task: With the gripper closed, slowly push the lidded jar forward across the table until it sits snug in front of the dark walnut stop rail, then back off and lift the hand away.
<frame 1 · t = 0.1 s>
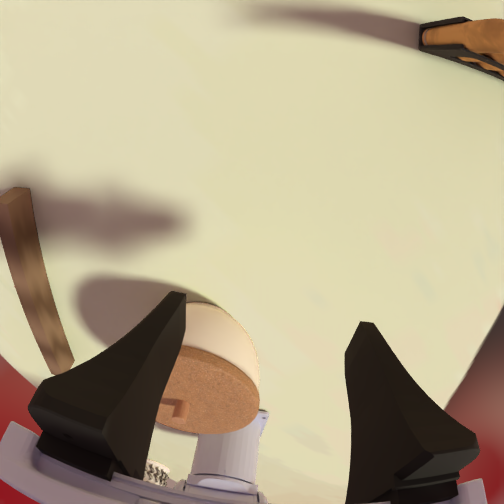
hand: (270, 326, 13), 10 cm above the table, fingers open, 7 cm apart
decorative candle: (149, 464, 51), on the table
lidded jar: (204, 326, 28), on the table
ammunition clip: (485, 60, 14), on the table
walnut stop rail: (44, 289, 28), on the table
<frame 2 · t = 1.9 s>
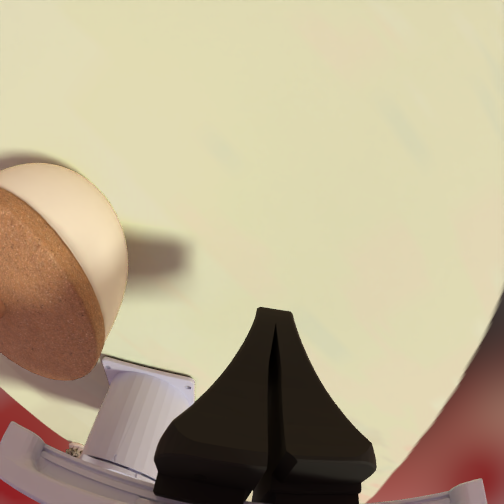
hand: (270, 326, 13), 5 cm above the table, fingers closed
lidded jar: (78, 222, 18), on the table
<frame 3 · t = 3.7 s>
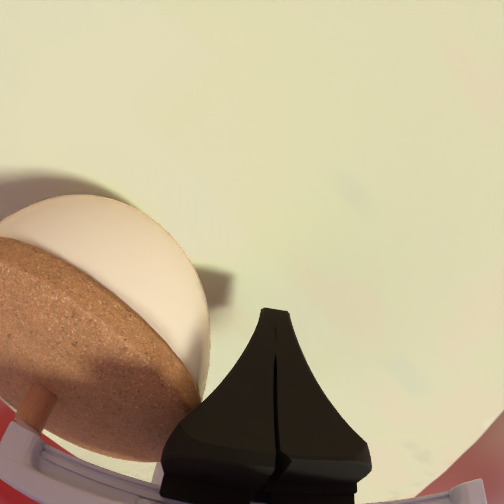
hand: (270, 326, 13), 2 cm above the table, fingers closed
lidded jar: (126, 262, 15), on the table, touching gripper
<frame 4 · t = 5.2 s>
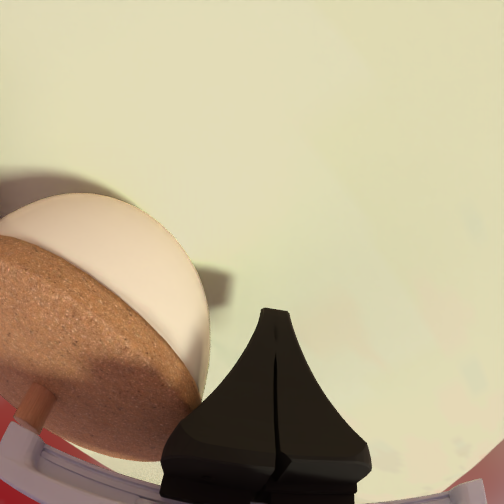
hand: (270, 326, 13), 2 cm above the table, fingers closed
lidded jar: (126, 261, 15), on the table, touching gripper
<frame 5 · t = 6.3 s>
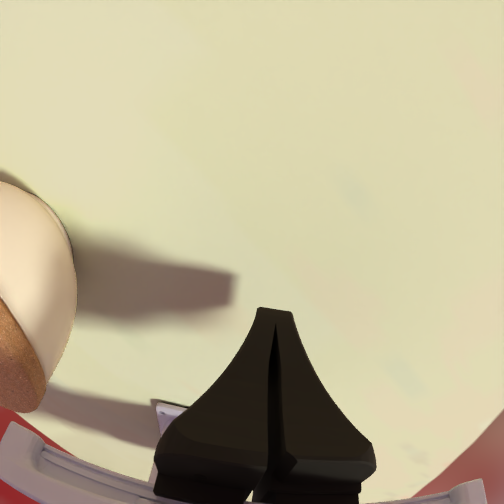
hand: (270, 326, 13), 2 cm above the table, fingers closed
lidded jar: (33, 239, 15), on the table
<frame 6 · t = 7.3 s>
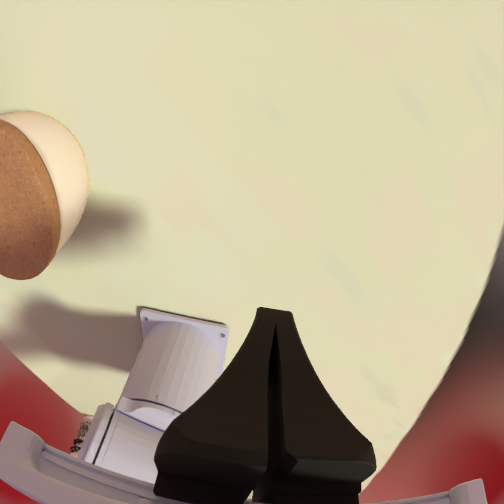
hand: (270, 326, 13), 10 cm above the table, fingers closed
decorative candle: (106, 427, 45), on the table
lidded jar: (57, 164, 21), on the table
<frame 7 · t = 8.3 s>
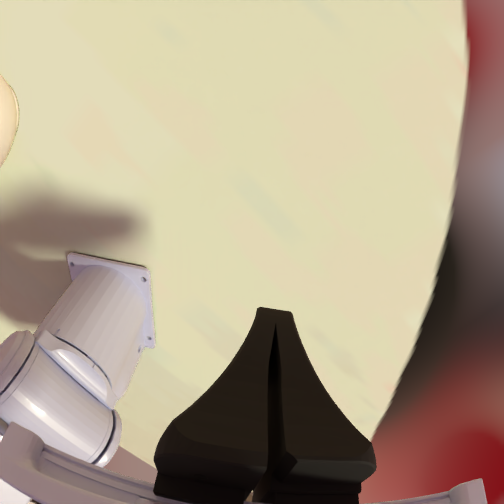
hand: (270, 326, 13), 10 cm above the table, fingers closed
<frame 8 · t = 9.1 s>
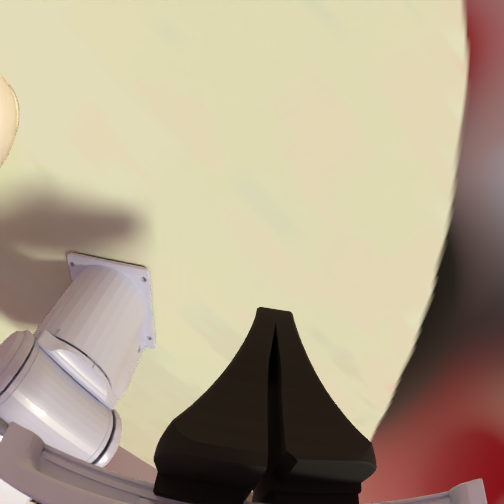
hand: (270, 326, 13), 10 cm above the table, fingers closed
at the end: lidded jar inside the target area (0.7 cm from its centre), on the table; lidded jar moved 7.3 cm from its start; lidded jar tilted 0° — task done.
